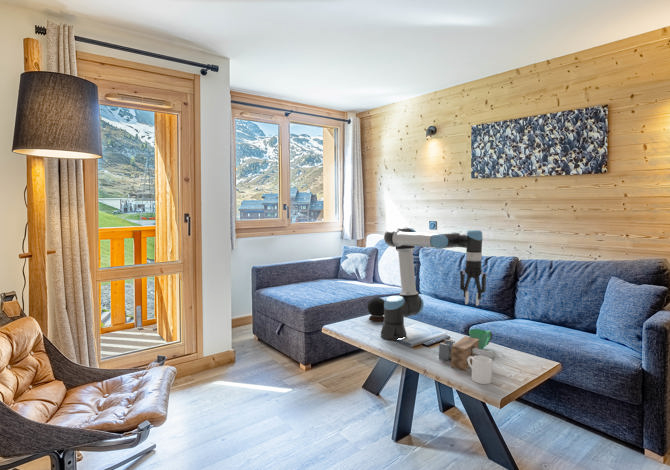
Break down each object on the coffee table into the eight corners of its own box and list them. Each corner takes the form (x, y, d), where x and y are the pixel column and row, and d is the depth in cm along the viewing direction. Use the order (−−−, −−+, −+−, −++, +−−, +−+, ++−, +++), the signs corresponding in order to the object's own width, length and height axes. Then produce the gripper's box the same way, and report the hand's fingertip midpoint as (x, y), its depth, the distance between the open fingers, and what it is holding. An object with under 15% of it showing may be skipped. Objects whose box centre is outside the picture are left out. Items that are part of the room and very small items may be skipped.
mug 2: (472, 371, 185) (473, 351, 184) (494, 381, 174) (495, 360, 174) (460, 375, 180) (461, 354, 180) (482, 385, 170) (483, 363, 169)
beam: (451, 366, 190) (451, 345, 189) (464, 355, 204) (465, 336, 203) (465, 370, 185) (466, 349, 185) (478, 359, 200) (478, 339, 199)
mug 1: (478, 354, 206) (479, 335, 205) (464, 348, 214) (464, 330, 214) (497, 349, 212) (498, 331, 212) (483, 344, 221) (484, 326, 220)
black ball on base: (377, 315, 276) (377, 294, 275) (390, 319, 266) (391, 298, 264) (363, 318, 267) (363, 297, 266) (377, 323, 257) (377, 301, 256)
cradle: (438, 359, 199) (439, 343, 198) (445, 354, 205) (445, 339, 205) (448, 361, 196) (448, 345, 195) (454, 356, 202) (454, 341, 201)
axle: (451, 350, 197) (451, 343, 197) (454, 348, 200) (454, 342, 199) (492, 361, 184) (492, 353, 184) (494, 358, 187) (494, 351, 187)
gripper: (454, 259, 205) (452, 302, 207) (489, 262, 194) (487, 308, 195) (459, 257, 211) (457, 300, 212) (493, 261, 199) (492, 305, 201)
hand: (472, 304), depth 204 cm, fingers open, 5 cm apart
